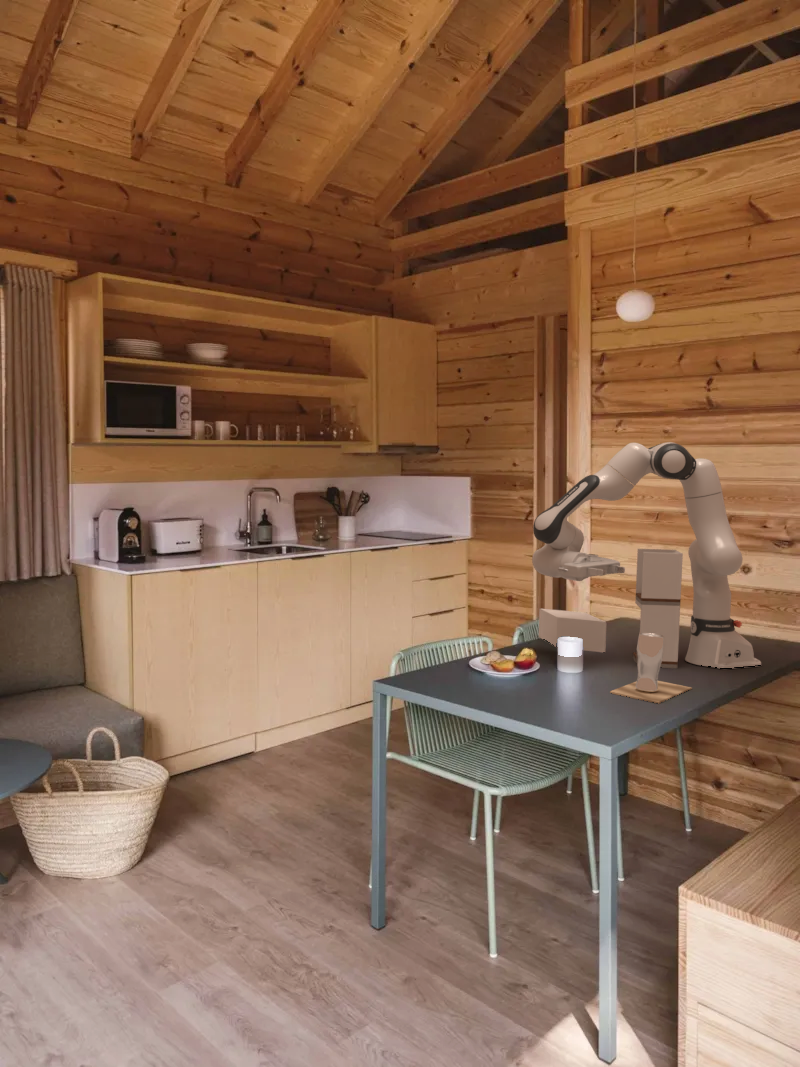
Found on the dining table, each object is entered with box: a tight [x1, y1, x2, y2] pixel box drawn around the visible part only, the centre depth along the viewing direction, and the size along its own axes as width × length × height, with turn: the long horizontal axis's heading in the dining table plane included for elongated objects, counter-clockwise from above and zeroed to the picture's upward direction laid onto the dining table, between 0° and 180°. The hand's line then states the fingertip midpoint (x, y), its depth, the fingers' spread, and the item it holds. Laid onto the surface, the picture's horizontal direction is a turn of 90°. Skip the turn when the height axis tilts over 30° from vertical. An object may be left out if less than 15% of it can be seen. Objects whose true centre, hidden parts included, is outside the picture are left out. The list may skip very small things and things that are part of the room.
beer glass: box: [635, 632, 664, 692], centre depth 236 cm, size 7×7×15 cm
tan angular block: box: [538, 608, 607, 653], centre depth 294 cm, size 14×29×10 cm, turn 39°
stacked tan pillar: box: [632, 548, 684, 669], centre depth 268 cm, size 11×11×35 cm
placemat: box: [609, 680, 693, 705], centre depth 237 cm, size 20×14×1 cm
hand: (613, 571), depth 257 cm, fingers open, 8 cm apart
